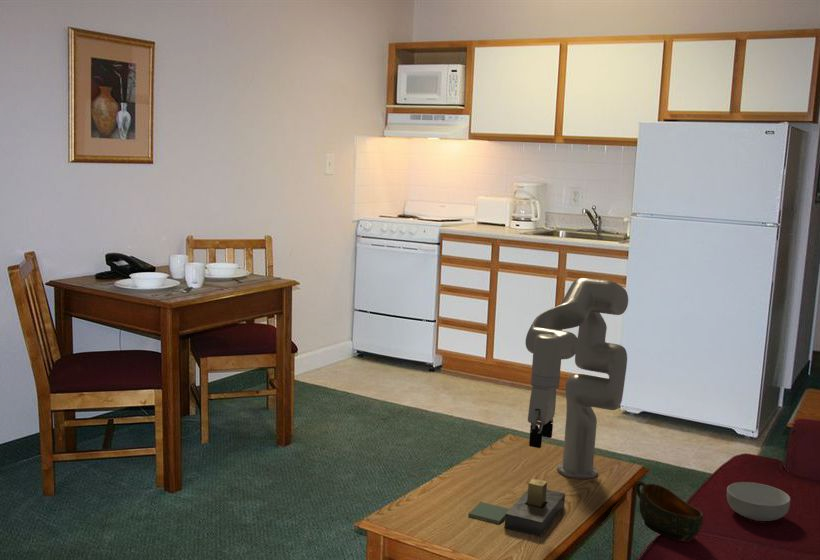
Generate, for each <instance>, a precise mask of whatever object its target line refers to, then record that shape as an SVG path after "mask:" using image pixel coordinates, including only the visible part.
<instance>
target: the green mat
mask: <svg viewBox="0 0 820 560" xmlns="http://www.w3.org/2000/svg"><path fill="white" fill-rule="evenodd" d="M509 509H510V508H507V507H503V506H499V505H495V504H491V503H488V502H487V503H486V502H483V501H480V502H479V503H478V504H477V505H476V506H475V507H473V509H471V510H470V512H468V517H469V518H470V517H471V518H475V519H477V520H478V519H479V520H482V521H487V522H490V523H494V524H498V525H499V524H501V523H502V522H503V521H504V520H505V513H506V512H507V511H508V510H509Z"/></svg>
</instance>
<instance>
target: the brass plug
mask: <svg viewBox="0 0 820 560" xmlns="http://www.w3.org/2000/svg"><path fill="white" fill-rule="evenodd" d="M547 487H548V481H545V480H541V479H537V478H532V479H531V480H530V481H529V483H528V487H527V490H528V498H527V505H529V506H533V507H537V508H542V509H543V508H544V507H545V503H546V490H548V489H547Z"/></svg>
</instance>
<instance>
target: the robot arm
mask: <svg viewBox="0 0 820 560" xmlns="http://www.w3.org/2000/svg"><path fill="white" fill-rule="evenodd" d="M628 305H629V296H628V291H627V290H626V289H625V288H624V287H623V286H621V285H620V284H619V283H617V282H615V281H613V280H608V279H607V280H606V279H598V278H597V279H596V278H590V277H589V278H588V277H580V278H577V279H575V280H574V281H573V282H571V285H570V286H569V288H568V290H567V291H566V294H565V296H564V297H563V298H562V301H561V303H560V304H559V305H556V306H554V307H551V308H550V309H547V310H545V311H543V312H541V313H540V314H539V315H538V316H536V318H535V319H534V320H533V322H532V324H531V326H530V327H529V329H528V331H527V333H526V337H525V348H526V349H527V351H528V352H530V353H531V354H532V365H531V366H532V367H531V377H530V378H531V379H530V386H532V388H531V392H530V398H529V406H528V407H529V408H528V415H527V422H528V423H529V424H530V426H529V427H530V430H529V439H528V441H529V442H528V446H529V447H532V448H537V449H541V448H542V443H543V441H542V440H543V438H548V439H551V438H552V437H553V429H554V424H553V423H554V417H555V414H556V403H557V390H558V389H559V388H560V382H561V379H560V378H561V369H562V367H561V365H562V360H569V359H571V358H573V357H574V364H575V366H576V367H577V368H578V369H581V370H584V371H589V372H594V373H600V374H607V376H608V378H607V377H601V376H596V375H591V374H590V375H589V374H585V373H584V374H583V373H576V374H572V375H570V376H568V378H567V379H566V382H565V388H564V389H565V400H566V411H565V412H566V414H565V415H566V416H565V427H564V428H565V429H564V440H563V441H564V442H563V452H562V453H563V454H562V462H560V463H558V464H557V468H556V469H557V471H558V473H559V474H560V475H562V476H563V475H564V476H565V477H568V478H573V479H579V480H582V479H584V480H586V479H587V480H588V479H593V478H595V477H597V476H598V473H599V472H598V471H599V470H598V469H597V468H596V467H595V466H594V461H595V460H594V458H595V448H596V447H595V446H596V435H597V427H598V425H597V424H598V421H597V419H598V418H597V416H596V413H595V412H594V410H593V408H596V409H602V410H607V411H608V410H609V411H615V410H618V409H619V408H620V407H621V404H622V401H623V395H624V390H625V383H626V382H625V381H626V375H627V374H626V373H627V366H628V353H627V350H626V348H625V347H624V346H623V345H621V344H617V343H612V342H606V336H607V329H608V327H607V323H606V321H605V319H604V317H603V316H602V314H607V315H613V316H614V315H615V316H622V315H623V314H624V313H625V312H626V310H627V308H628ZM572 328H573V329H574V328H578V333H577V335H576V334H575V333H573V332H570V331H566V330H568V329H572Z"/></svg>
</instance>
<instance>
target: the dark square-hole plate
mask: <svg viewBox="0 0 820 560" xmlns="http://www.w3.org/2000/svg"><path fill="white" fill-rule="evenodd" d="M527 498H528V489H527V490H526V491H525V492H524V493H523V494H522V496H520V497H519V498H518V500H517V501H516V502H515V503H514V504H513V505H512V506H510V508H508V509H509V510H508V511H507V512H506V513H505V518H504V529H509V530H513V531H516V532H521V533H525V534H528V535H533V536H535V537H542V536H543V535H544V533H545V532H546V531H547V530H548V529H549V527H550V525H552V523H553V522H554V521H555V520H556V518H557V516H558V515H559V514H560V513H561V511H562V510H563V509H564V508H565V502H566V501H565V500H566V493H564V492H559V491H555V490H550V489H547V490H546V503H545V507H544V508H543V509H542V508H537V507H533V506H529V505H527Z"/></svg>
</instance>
